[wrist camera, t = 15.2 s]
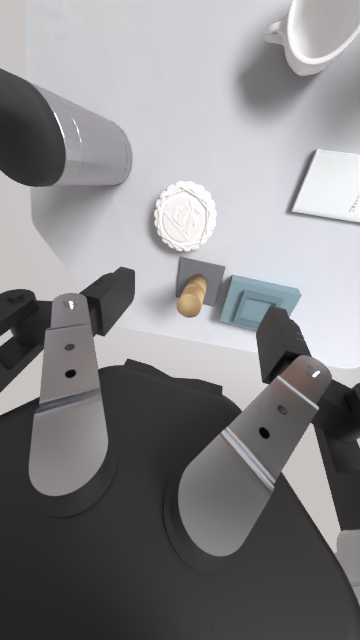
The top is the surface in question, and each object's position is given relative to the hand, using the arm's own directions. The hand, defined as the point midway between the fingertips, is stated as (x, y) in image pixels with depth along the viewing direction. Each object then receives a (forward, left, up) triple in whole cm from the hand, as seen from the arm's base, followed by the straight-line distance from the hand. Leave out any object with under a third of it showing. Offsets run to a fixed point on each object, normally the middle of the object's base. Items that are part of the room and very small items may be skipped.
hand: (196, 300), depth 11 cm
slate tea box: (+11, -16, -33) cm, 38 cm away
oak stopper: (-3, -14, -32) cm, 35 cm away
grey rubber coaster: (-3, -14, -33) cm, 36 cm away
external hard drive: (+17, +7, -33) cm, 38 cm away
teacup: (+4, +21, -33) cm, 39 cm away
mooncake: (-8, -1, -33) cm, 34 cm away
